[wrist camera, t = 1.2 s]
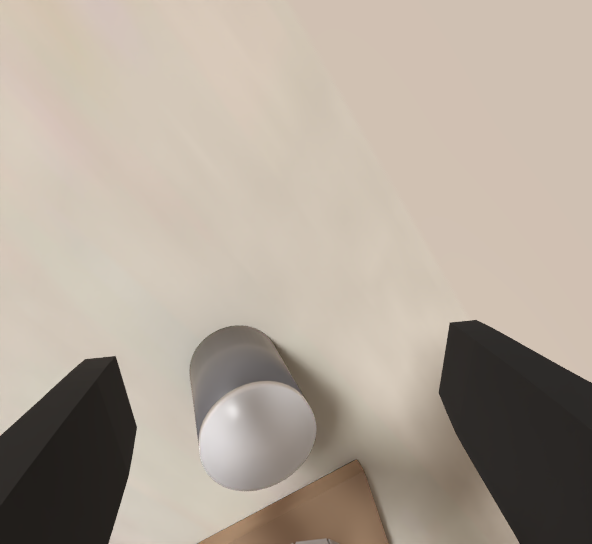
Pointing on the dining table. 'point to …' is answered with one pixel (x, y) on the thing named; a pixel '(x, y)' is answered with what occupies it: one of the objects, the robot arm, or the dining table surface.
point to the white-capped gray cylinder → (248, 410)
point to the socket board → (314, 515)
